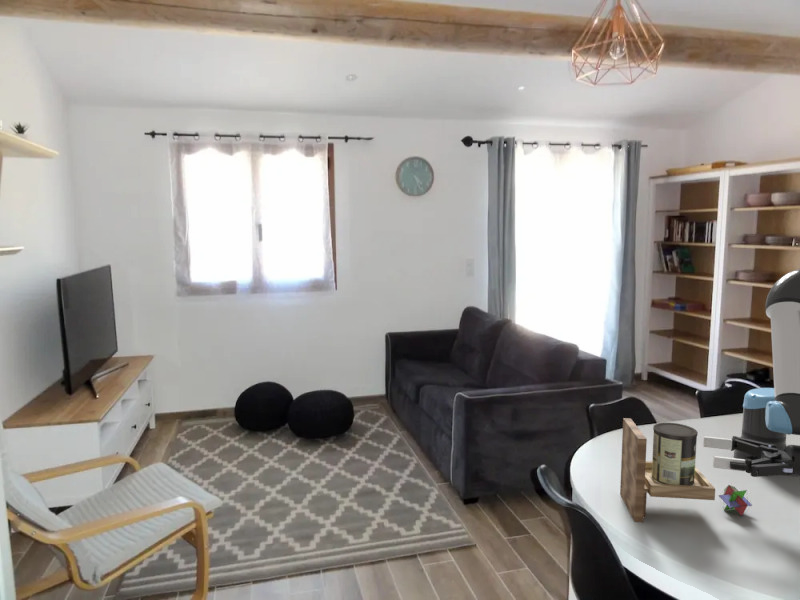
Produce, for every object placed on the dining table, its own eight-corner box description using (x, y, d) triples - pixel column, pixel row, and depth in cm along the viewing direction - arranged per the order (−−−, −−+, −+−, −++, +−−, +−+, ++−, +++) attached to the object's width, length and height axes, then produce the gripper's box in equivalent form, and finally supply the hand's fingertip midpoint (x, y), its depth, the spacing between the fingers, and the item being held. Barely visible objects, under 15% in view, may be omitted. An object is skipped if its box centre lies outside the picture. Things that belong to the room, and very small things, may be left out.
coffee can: (687, 473, 148) (690, 423, 146) (700, 491, 138) (703, 437, 136) (646, 470, 150) (649, 421, 148) (656, 488, 140) (658, 434, 138)
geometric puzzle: (763, 512, 138) (749, 480, 142) (740, 515, 137) (726, 483, 141) (743, 517, 145) (730, 486, 148) (721, 520, 143) (708, 488, 147)
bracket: (712, 526, 136) (718, 441, 133) (634, 521, 139) (638, 438, 136) (690, 497, 151) (695, 420, 148) (620, 493, 154) (623, 418, 151)
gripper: (826, 500, 122) (717, 486, 129) (789, 456, 145) (699, 447, 152) (829, 468, 121) (719, 456, 128) (791, 429, 144) (700, 421, 151)
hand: (708, 451), depth 140 cm, fingers open, 13 cm apart
